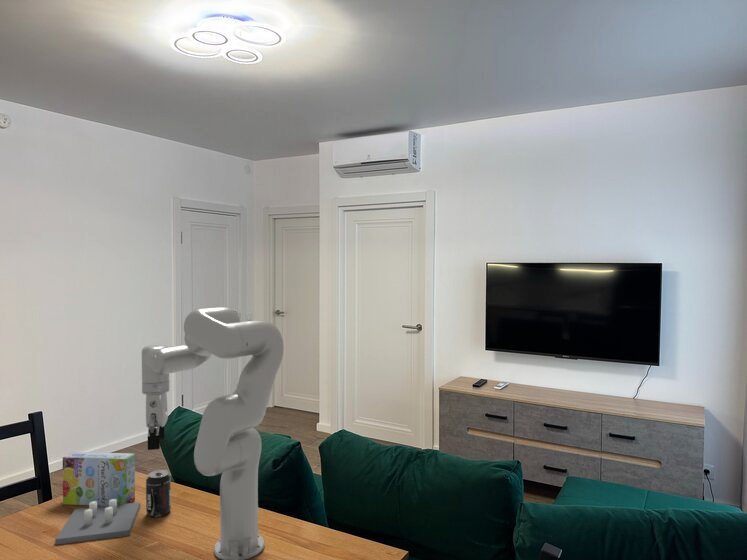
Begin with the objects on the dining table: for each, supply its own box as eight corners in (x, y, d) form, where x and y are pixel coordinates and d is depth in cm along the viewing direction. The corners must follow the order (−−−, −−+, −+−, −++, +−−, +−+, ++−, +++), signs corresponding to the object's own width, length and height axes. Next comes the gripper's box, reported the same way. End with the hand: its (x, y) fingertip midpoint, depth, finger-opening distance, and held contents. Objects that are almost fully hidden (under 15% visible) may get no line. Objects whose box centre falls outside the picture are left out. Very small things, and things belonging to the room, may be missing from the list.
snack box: (136, 500, 165) (135, 452, 165) (126, 508, 160) (125, 459, 159) (73, 497, 167) (72, 450, 167) (61, 505, 162) (60, 456, 162)
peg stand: (129, 535, 143) (129, 515, 143) (55, 544, 138) (55, 524, 138) (140, 506, 160) (140, 489, 160) (75, 514, 156) (74, 495, 155)
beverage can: (151, 521, 151) (150, 479, 151) (142, 513, 156) (142, 473, 156) (174, 513, 156) (174, 473, 156) (165, 506, 161) (165, 467, 161)
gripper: (165, 392, 148) (165, 452, 149) (172, 380, 165) (173, 434, 165) (136, 394, 147) (137, 454, 147) (147, 381, 163) (147, 436, 164)
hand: (156, 443), depth 156 cm, fingers open, 9 cm apart
